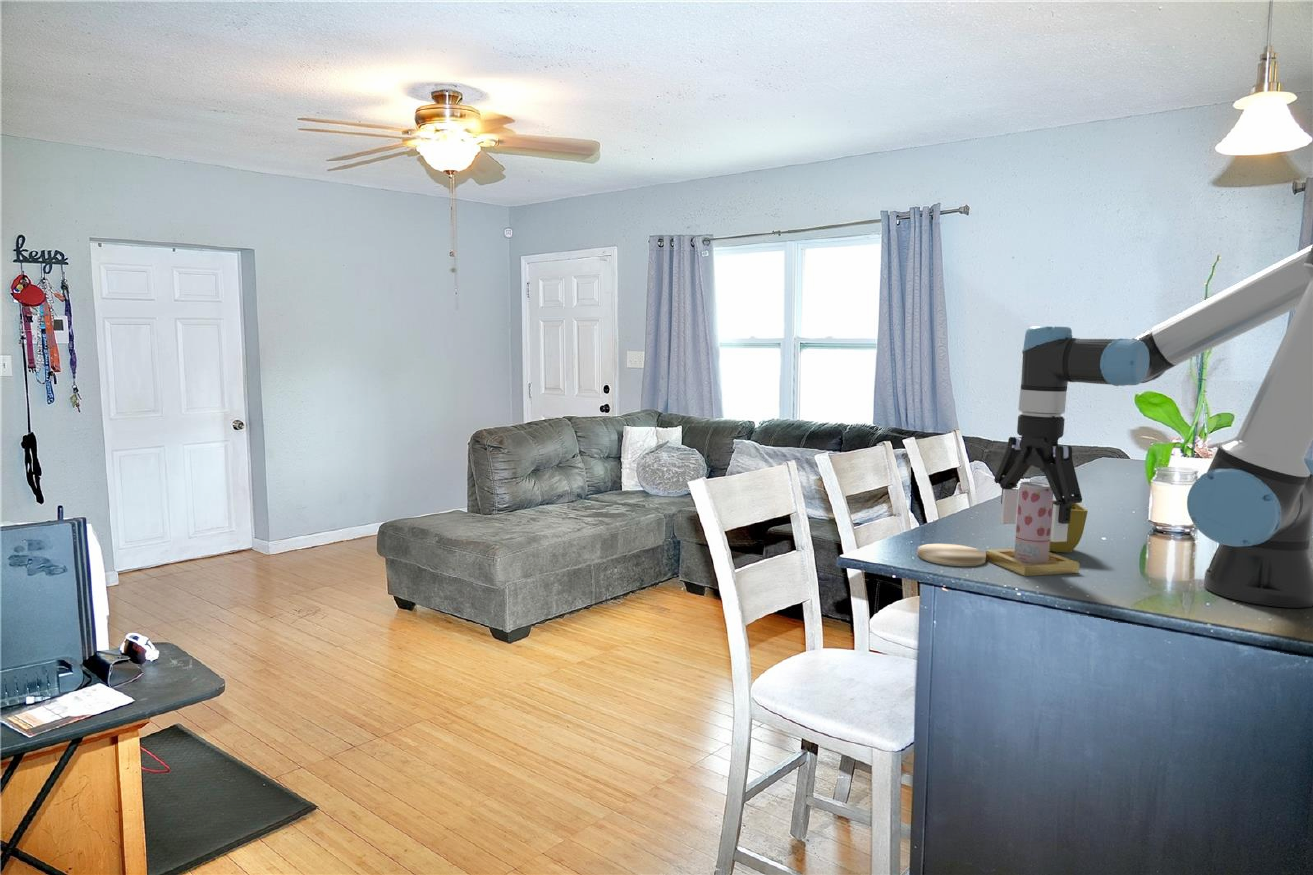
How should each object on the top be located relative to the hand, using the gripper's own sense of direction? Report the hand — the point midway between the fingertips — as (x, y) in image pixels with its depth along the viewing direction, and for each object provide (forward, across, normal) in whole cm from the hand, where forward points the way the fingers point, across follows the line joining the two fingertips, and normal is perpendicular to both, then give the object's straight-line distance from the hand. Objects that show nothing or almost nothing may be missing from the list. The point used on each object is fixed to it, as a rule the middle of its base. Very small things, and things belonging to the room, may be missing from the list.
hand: (1032, 532), depth 153 cm
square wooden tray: (+6, 0, 0) cm, 6 cm away
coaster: (+6, +8, +11) cm, 15 cm away
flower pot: (+7, +10, -13) cm, 18 cm away
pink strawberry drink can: (+6, 0, 0) cm, 6 cm away
